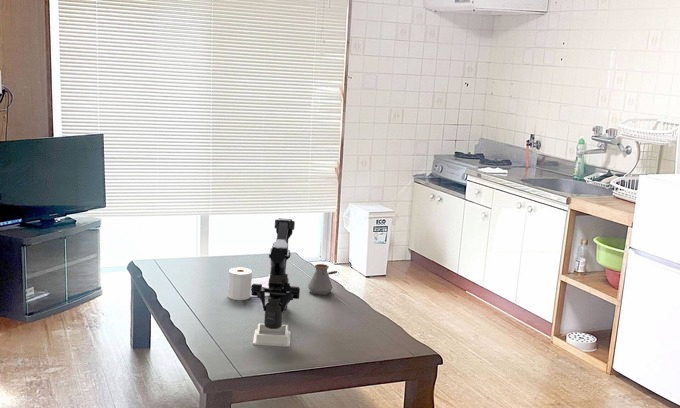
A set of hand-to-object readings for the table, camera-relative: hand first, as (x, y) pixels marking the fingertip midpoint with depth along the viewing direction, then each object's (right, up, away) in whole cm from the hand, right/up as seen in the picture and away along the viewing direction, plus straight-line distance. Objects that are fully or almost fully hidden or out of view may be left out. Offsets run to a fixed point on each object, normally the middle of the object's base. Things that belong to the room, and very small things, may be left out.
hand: (273, 311), depth 280 cm
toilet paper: (-20, -1, +47) cm, 51 cm away
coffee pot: (+18, -2, +58) cm, 61 cm away
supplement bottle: (-1, -6, +3) cm, 7 cm away
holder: (-1, -11, +4) cm, 12 cm away
